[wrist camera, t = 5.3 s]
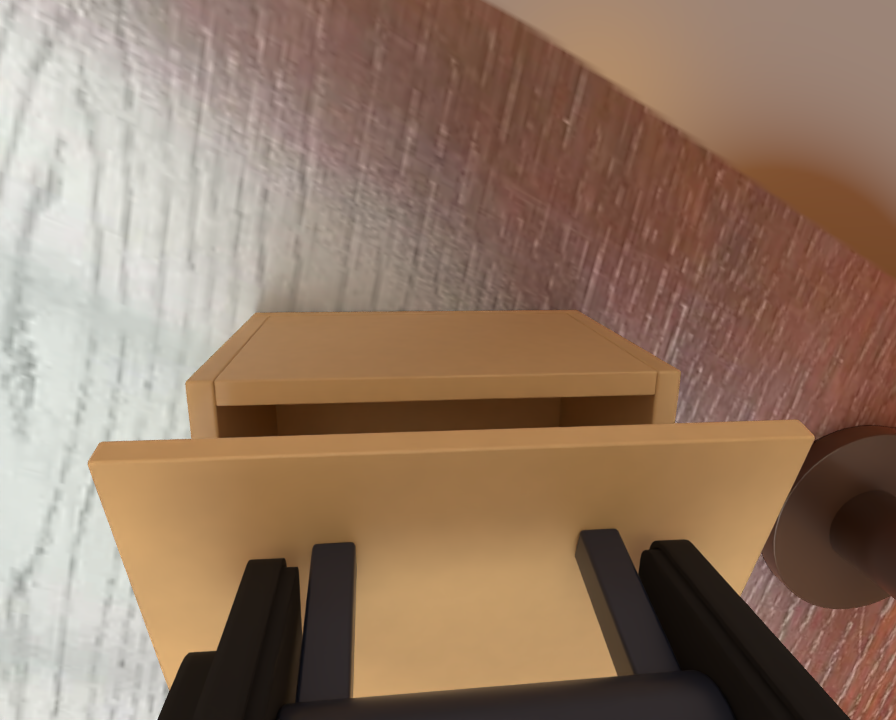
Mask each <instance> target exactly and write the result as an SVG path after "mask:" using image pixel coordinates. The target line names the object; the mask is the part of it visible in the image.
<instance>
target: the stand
mask: <svg viewBox="0 0 896 720" xmlns="http://www.w3.org/2000/svg"><path fill="white" fill-rule="evenodd" d="M761 552H762V554H763V557H764V560H765V562H766V564H767V565H768V567H769V569H770V570H771V571H772V573H773V574H774V575H775V576H776V577H777V578H778V579H779V580H780V581H781V582H782V583H783V584H784V585H785V586H786V587H787V588H788V589H789V590H791V591H792V592H793V593H794V594H795V595H796V596H798V597H799V598H801V599H802V600H804V601H806V602H808V603H811V604H813V605H816V606H820V607H824V608H831V609H850V608H858V607H862V606H866V605H870V604H873V603H875V602H878V601H881V600H883V599H885V598H887V597H889V596H892V597H893V598H894V599H896V429H893V428H889V427H883V426H870V425H868V426H857V427H852V428H847V429H843V430H840V431H837V432H835V433H832V434H830V435H828V436H825V437H823V438H821V439H819V440H818V441H816V442H814V443H813V444H812V446H811V448H810V450H809V452H808V454H807V456H806V458H805V461H804V463H803V465H802V467H801V469H800V471H799V473H798V475H797V477H796V480H795V482H794V484H793V486H792V488H791V490H790V492H789V494H788V496H787V499H786V501H785V503H784V505H783V507H782V509H781V511H780V513H779V516H778V518H777V520H776V522H775V524H774V526H773V528H772V530H771V532H770V535H769V537H768V539H767V541H766V543H765V545H764V547H763V549H762V551H761Z"/></svg>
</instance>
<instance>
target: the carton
mask: <svg viewBox="0 0 896 720" xmlns="http://www.w3.org/2000/svg"><path fill="white" fill-rule="evenodd" d="M680 377H681V372H680V370H678V369H676V368H675V367H673V366H671V365H669V364H668V363H666V362H664V361H663V360H661V359H659V358H657V357H656V356H654V355H652V354H651V353H649V352H647V351H645V350H644V349H642V348H640V347H639V346H637V345H635V344H634V343H632V342H630V341H628V340H627V339H625V338H623V337H622V336H620V335H618V334H616V333H615V332H613V331H611V330H610V329H608V328H606V327H605V326H603V325H601V324H599V323H598V322H596V321H594V320H593V319H591V318H589V317H587V316H586V315H584V314H582V313H581V312H579V311H578V310H510V311H392V312H275V313H255V314H254V315H253V316H252V317H251V318H250V319H249V320H248V321H247V322H246V323H245V324H244V325H243V326H242V327H241V328H240V329H239V330H238V331H237V332H236V333H235V334H234V335H233V336H232V337H231V338H229V339H228V340H227V341H226V342H225V343H224V344H223V345H222V346H221V347H220V348H219V349H218V350H217V351H216V352H215V353H214V354H213V355H212V356H211V357H210V358H209V359H208V360H207V361H206V362H205V363H204V364H203V365H202V366H201V367H200V368H199V369H198V370H197V371H196V372H195V373H194V374H193V375H192V376H191V377H190V378H189V379H188V380H187V381H186V383H185V385H186V394H187V403H188V412H189V421H190V430H191V438H192V439H204V438H235V437H267V436H298V435H329V434H361V433H392V432H423V431H455V430H486V429H517V428H549V427H580V426H611V425H642V424H674V423H675V417H676V409H677V401H678V393H679V385H680Z"/></svg>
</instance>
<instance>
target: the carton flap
mask: <svg viewBox="0 0 896 720" xmlns="http://www.w3.org/2000/svg"><path fill="white" fill-rule="evenodd" d="M814 439H815V436H814V435H813V434H812V433H811V432H810V431H809V430H808V429H807V428H806V427H805V426H804V425H803V424H802V423H801V422H800V421H799V420H768V421H736V422H705V423H674V424H642V425H611V426H580V427H549V428H517V429H486V430H455V431H423V432H392V433H361V434H329V435H298V436H267V437H235V438H204V439H173V440H142V441H110V442H101V443H99V444H98V446H97V448H96V449H95V451H94V453H93V454H92V456H91V458H90V459H89V461H88V467H89V470H90V472H91V475H92V478H93V481H94V484H95V486H96V489H97V492H98V495H99V497H100V500H101V503H102V506H103V508H104V511H105V514H106V517H107V519H108V522H109V525H110V528H111V531H112V533H113V536H114V539H115V542H116V544H117V547H118V550H119V553H120V555H121V558H122V561H123V564H124V566H125V569H126V572H127V575H128V578H129V580H130V583H131V586H132V589H133V591H134V594H135V597H136V600H137V602H138V605H139V608H140V611H141V613H142V616H143V619H144V622H145V625H146V627H147V630H148V633H149V636H150V638H151V641H152V644H153V647H154V649H155V652H156V655H157V658H158V660H159V663H160V666H161V669H162V672H163V674H164V677H165V680H166V683H167V685H168V688H169V691H170V688H171V686H172V684H173V681H174V679H175V677H176V674H177V672H178V669H179V667H180V665H181V663H182V661H183V659H184V657H185V656H186V655H187V654H188V653H189V652H204V651H216V650H217V647H218V645H219V642H220V639H221V636H222V633H223V630H224V628H225V625H226V622H227V619H228V616H229V613H230V610H231V608H232V605H233V602H234V599H235V596H236V593H237V591H238V588H239V585H240V582H241V579H242V576H243V573H244V571H245V568H246V565H247V563H248V561H249V560H252V559H273V558H285V560H286V564H287V567H298V569H299V581H300V601H301V620H302V645H301V654H300V663H299V672H298V681H297V690H296V699H295V703H287V704H285V705H283V706H282V707H281V708H280V710H279V713H278V716H277V719H276V720H736V719H735V716H734V714H733V712H732V710H731V708H730V706H729V704H728V702H727V700H726V698H725V697H724V695H723V693H722V692H721V690H720V689H719V688H718V686H717V685H716V684H715V683H714V682H713V680H712V679H710V678H709V677H708V676H707V675H705V674H704V673H701V672H699V671H696V670H685V671H682V669H681V667H680V665H679V663H678V660H677V658H676V656H675V654H674V652H673V649H672V647H671V645H670V643H669V641H668V638H667V636H666V634H665V632H664V630H663V628H662V625H661V623H660V621H659V619H658V617H657V614H656V612H655V610H654V608H653V606H652V603H651V601H650V599H649V597H648V595H647V592H646V590H645V588H644V586H643V584H642V582H641V579H640V577H639V575H638V572H639V565H640V557H641V554H642V552H643V551H644V550H649V549H650V546H651V544H652V542H654V541H658V540H679V539H686V540H689V541H690V542H691V543H693V545H694V546H695V547H696V548H697V549H698V550H699V551H700V552H701V554H702V555H703V556H704V557H705V558H706V559H707V560H708V561H709V562H710V564H711V565H712V566H713V567H714V568H715V569H716V570H717V571H718V572H719V574H720V575H721V576H722V577H723V578H724V579H725V580H726V581H727V582H728V584H729V585H730V586H731V587H732V588H733V589H734V590H735V591H736V593H737V594H738V595H739V596H741V594H742V592H743V589H744V587H745V585H746V583H747V581H748V579H749V577H750V575H751V573H752V570H753V568H754V566H755V564H756V562H757V560H758V558H759V556H760V554H761V551H762V549H763V547H764V545H765V543H766V541H767V539H768V537H769V535H770V532H771V530H772V528H773V526H774V524H775V522H776V520H777V518H778V516H779V513H780V511H781V509H782V507H783V505H784V503H785V501H786V499H787V496H788V494H789V492H790V490H791V488H792V486H793V484H794V482H795V480H796V477H797V475H798V473H799V471H800V469H801V467H802V465H803V463H804V461H805V458H806V456H807V454H808V452H809V450H810V448H811V446H812V444H813V442H814Z"/></svg>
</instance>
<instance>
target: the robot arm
mask: <svg viewBox="0 0 896 720" xmlns="http://www.w3.org/2000/svg"><path fill="white" fill-rule="evenodd" d="M638 575H639V577H640V579H641V582H642V584H643V586H644V588H645V590H646V592H647V595H648V597H649V599H650V601H651V603H652V606H653V608H654V610H655V612H656V614H657V617H658V619H659V621H660V623H661V625H662V628H663V630H664V632H665V634H666V636H667V638H668V641H669V643H670V645H671V647H672V649H673V652H674V654H675V656H676V658H677V660H678V663H679V665H680V667H681V669H682V671H685V670H696V671H699V672H701V673H704V674H705V675H707V676H708V677H709V678H710V679H712V680H713V682H714V683H715V684H716V685H717V686H718V688H719V689H720V690H721V692H722V693H723V695H724V697H725V698H726V700H727V702H728V704H729V706H730V708H731V710H732V712H733V714H734V716H735V719H736V720H850V718H849V717H848V716H847V715H846V714H845V713H844V712H843V711H842V709H841V708H840V707H839V706H838V705H837V704H836V703H835V702H834V701H833V699H832V698H831V697H830V696H829V695H828V694H827V693H826V692H825V691H824V689H823V688H822V687H821V686H820V685H819V684H818V683H817V682H816V681H815V679H814V678H813V677H812V676H811V675H810V674H809V673H808V672H807V670H806V669H805V668H804V667H803V666H802V665H801V664H800V663H799V662H798V660H797V659H796V658H795V657H794V656H793V655H792V654H791V653H790V652H789V650H788V649H787V648H786V647H785V646H784V645H783V644H782V643H781V642H780V640H779V639H778V638H777V637H776V636H775V635H774V634H773V633H772V632H771V630H770V629H769V628H768V627H767V626H766V625H765V624H764V623H763V621H762V620H761V619H760V618H759V617H758V616H757V615H756V614H755V613H754V611H753V610H752V609H751V608H750V607H749V606H748V605H747V604H746V603H745V601H744V600H743V599H742V598H741V597H740V596H739V595H738V594H737V593H736V591H735V590H734V589H733V588H732V587H731V586H730V585H729V584H728V582H727V581H726V580H725V579H724V578H723V577H722V576H721V575H720V574H719V572H718V571H717V570H716V569H715V568H714V567H713V566H712V565H711V564H710V562H709V561H708V560H707V559H706V558H705V557H704V556H703V555H702V554H701V552H700V551H699V550H698V549H697V548H696V547H695V546H694V545H693V543H691V542H690V541H689V540H686V539H679V540H658V541H654V542H652V544H651V546H650V549H649V550H644V551H643V552H642V554H641V557H640V565H639V572H638ZM301 645H302V620H301V601H300V581H299V569H298V567H287V564H286V560H285V558H273V559H252V560H249V561H248V563H247V565H246V568H245V571H244V573H243V576H242V579H241V582H240V585H239V588H238V591H237V593H236V596H235V599H234V602H233V605H232V608H231V610H230V613H229V616H228V619H227V622H226V625H225V628H224V630H223V633H222V636H221V639H220V642H219V645H218V647H217V650H216V651H204V652H189V653H188V654H187V655H186V656H185V657H184V659H183V661H182V663H181V665H180V667H179V669H178V672H177V674H176V677H175V679H174V681H173V684H172V686H171V688H170V691H169V693H168V696H167V698H166V700H165V703H164V705H163V708H162V710H161V712H160V715H159V717H158V720H276V719H277V716H278V713H279V710H280V708H281V707H282V706H283V705H285V704H287V703H295V699H296V690H297V681H298V672H299V663H300V654H301Z"/></svg>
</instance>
